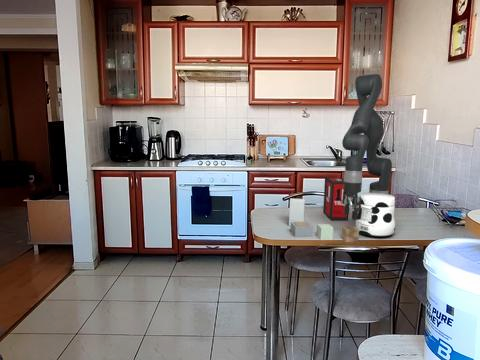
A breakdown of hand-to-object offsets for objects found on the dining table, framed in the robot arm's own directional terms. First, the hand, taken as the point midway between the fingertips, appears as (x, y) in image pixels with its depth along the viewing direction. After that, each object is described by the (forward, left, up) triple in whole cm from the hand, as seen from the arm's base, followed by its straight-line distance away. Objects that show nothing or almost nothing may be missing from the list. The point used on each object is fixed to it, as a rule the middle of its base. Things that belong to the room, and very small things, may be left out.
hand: (350, 217), depth 172 cm
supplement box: (+17, -25, -10) cm, 32 cm away
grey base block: (+19, -10, -10) cm, 24 cm away
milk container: (-15, -7, -10) cm, 20 cm away
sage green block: (+10, -4, -10) cm, 15 cm away
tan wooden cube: (0, 0, -10) cm, 10 cm away
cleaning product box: (-8, -38, -11) cm, 40 cm away
